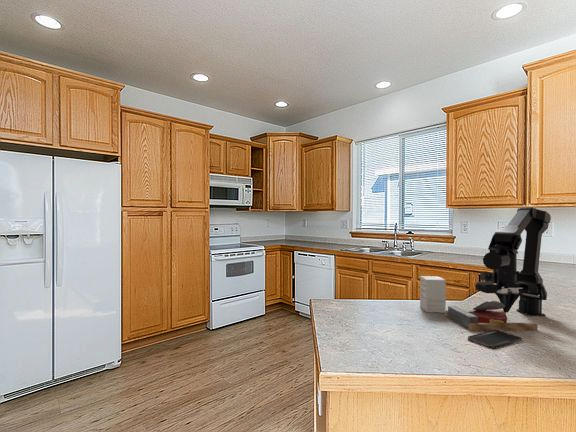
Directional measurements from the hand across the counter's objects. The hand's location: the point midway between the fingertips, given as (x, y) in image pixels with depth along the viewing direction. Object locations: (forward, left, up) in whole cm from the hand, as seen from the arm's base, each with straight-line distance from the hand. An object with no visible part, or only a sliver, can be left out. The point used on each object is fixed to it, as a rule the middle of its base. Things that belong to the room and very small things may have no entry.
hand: (505, 312), depth 109 cm
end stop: (+16, 0, -4) cm, 16 cm away
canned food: (+6, 0, -4) cm, 7 cm away
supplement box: (+18, -15, -4) cm, 24 cm away
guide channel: (+6, 0, -4) cm, 7 cm away
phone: (+15, +15, -4) cm, 22 cm away
